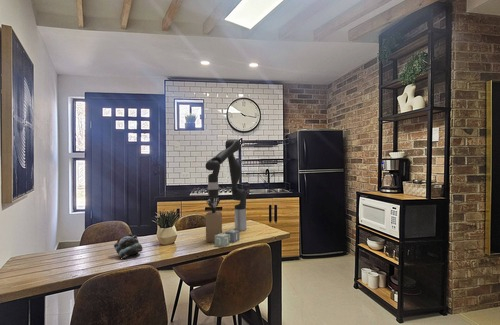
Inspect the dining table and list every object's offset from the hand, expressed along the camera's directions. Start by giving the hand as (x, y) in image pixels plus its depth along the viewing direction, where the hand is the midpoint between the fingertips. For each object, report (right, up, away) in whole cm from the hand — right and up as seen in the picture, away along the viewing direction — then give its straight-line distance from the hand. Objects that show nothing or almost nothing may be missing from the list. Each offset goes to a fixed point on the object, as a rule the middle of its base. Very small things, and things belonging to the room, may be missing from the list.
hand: (213, 212), depth 209 cm
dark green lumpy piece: (-48, -21, -31) cm, 61 cm away
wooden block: (0, -20, 0) cm, 20 cm away
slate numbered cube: (+14, -20, -2) cm, 24 cm away
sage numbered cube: (+7, -20, -12) cm, 24 cm away
